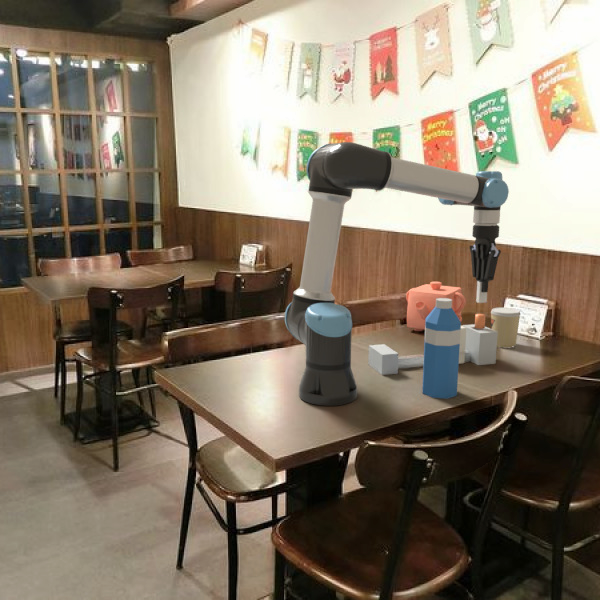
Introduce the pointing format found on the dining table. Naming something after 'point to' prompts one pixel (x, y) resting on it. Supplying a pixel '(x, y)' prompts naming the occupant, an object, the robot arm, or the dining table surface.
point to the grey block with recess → (481, 344)
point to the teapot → (431, 302)
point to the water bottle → (441, 351)
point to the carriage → (462, 345)
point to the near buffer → (383, 359)
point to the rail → (419, 360)
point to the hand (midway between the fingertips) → (481, 302)
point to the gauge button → (480, 321)
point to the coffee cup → (505, 325)
